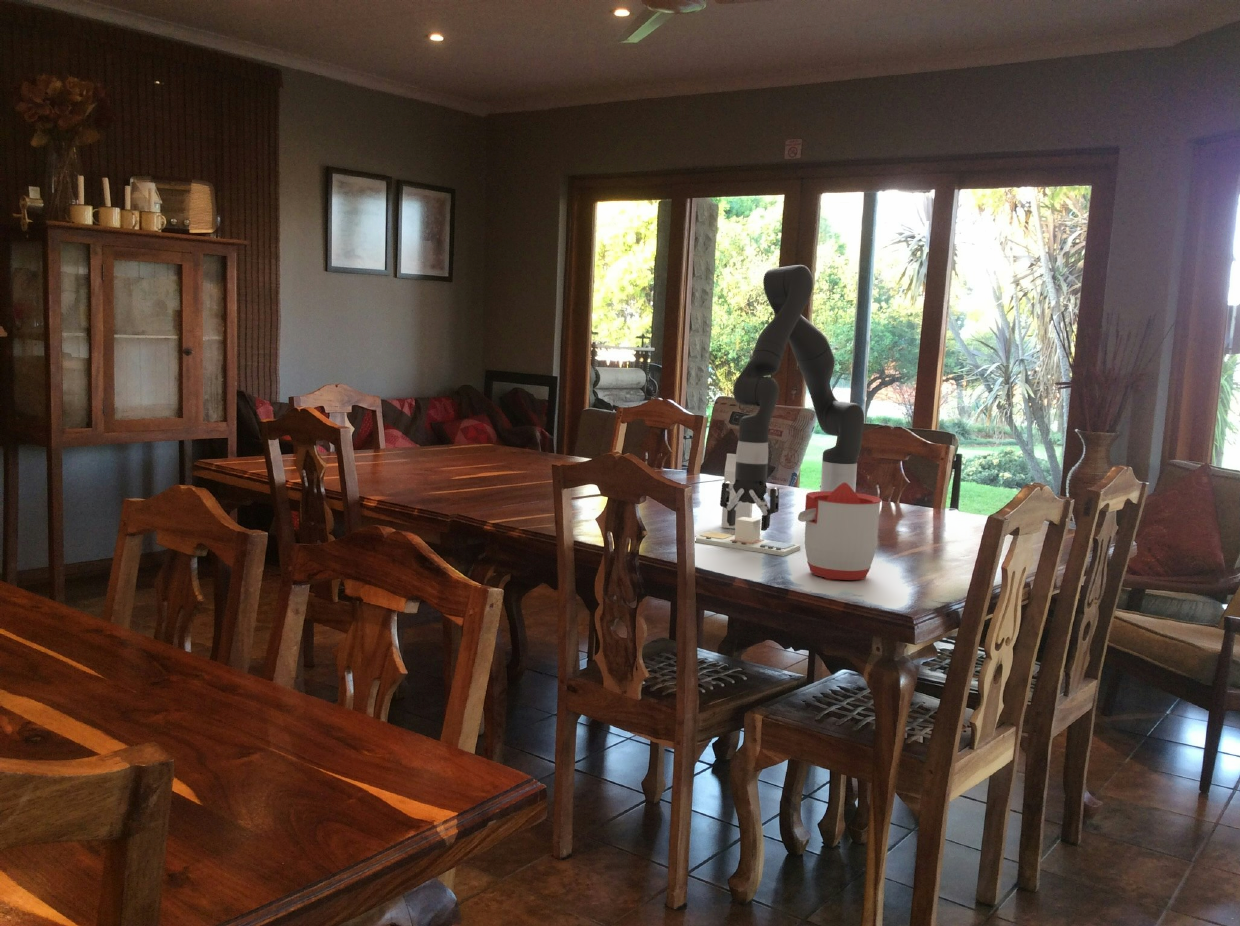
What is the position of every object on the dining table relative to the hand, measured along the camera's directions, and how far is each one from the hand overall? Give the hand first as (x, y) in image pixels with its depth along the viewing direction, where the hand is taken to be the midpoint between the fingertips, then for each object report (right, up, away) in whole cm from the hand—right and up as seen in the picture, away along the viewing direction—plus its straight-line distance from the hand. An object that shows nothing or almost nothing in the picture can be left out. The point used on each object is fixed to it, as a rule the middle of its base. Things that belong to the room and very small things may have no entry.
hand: (747, 527), depth 255 cm
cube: (0, -3, 0) cm, 3 cm away
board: (-1, -4, 0) cm, 4 cm away
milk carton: (0, -1, +24) cm, 24 cm away
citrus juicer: (+15, -9, -28) cm, 33 cm away
